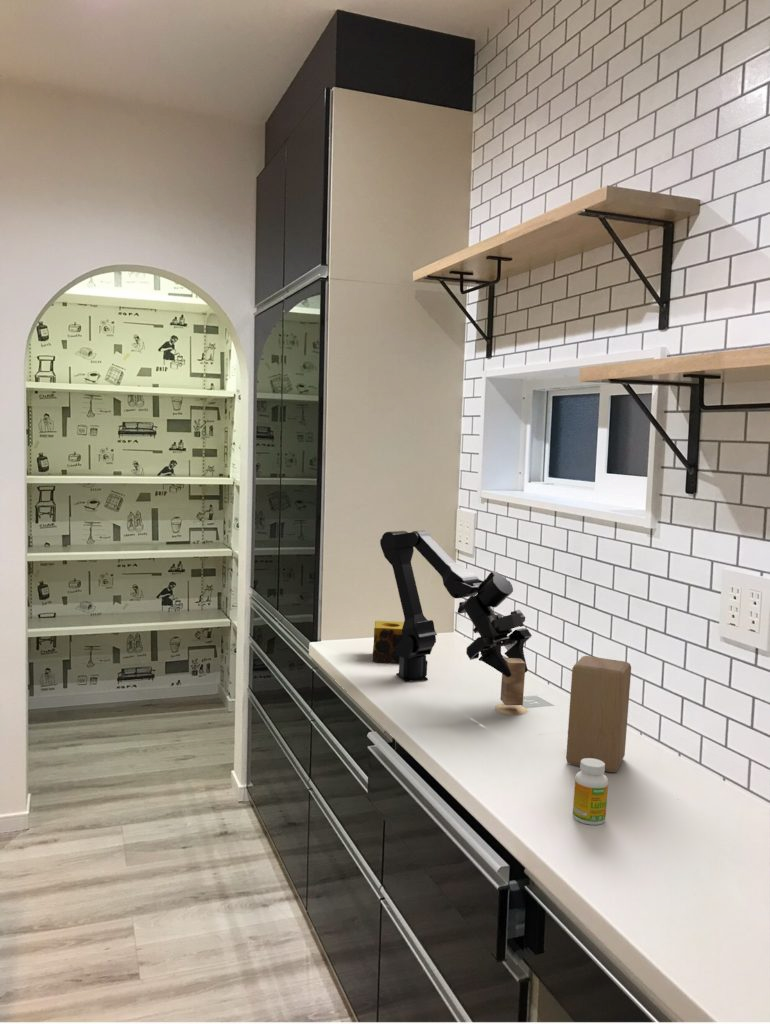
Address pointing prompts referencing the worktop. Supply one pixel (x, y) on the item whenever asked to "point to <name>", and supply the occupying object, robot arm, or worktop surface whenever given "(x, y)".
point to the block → (598, 711)
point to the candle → (386, 641)
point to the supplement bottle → (590, 792)
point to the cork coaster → (511, 709)
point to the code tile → (534, 702)
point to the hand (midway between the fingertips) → (518, 674)
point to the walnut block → (513, 682)
